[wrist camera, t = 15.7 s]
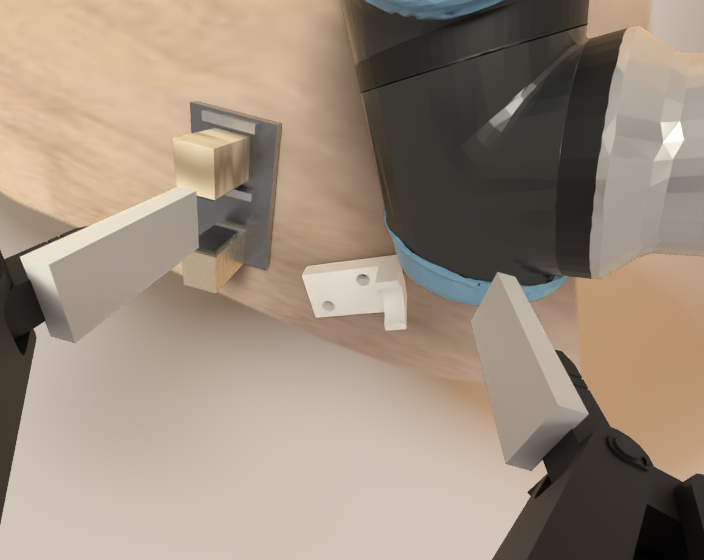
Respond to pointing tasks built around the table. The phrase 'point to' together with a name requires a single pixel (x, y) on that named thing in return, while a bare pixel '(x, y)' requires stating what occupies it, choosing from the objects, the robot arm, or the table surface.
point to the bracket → (359, 289)
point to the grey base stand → (235, 203)
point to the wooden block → (211, 162)
